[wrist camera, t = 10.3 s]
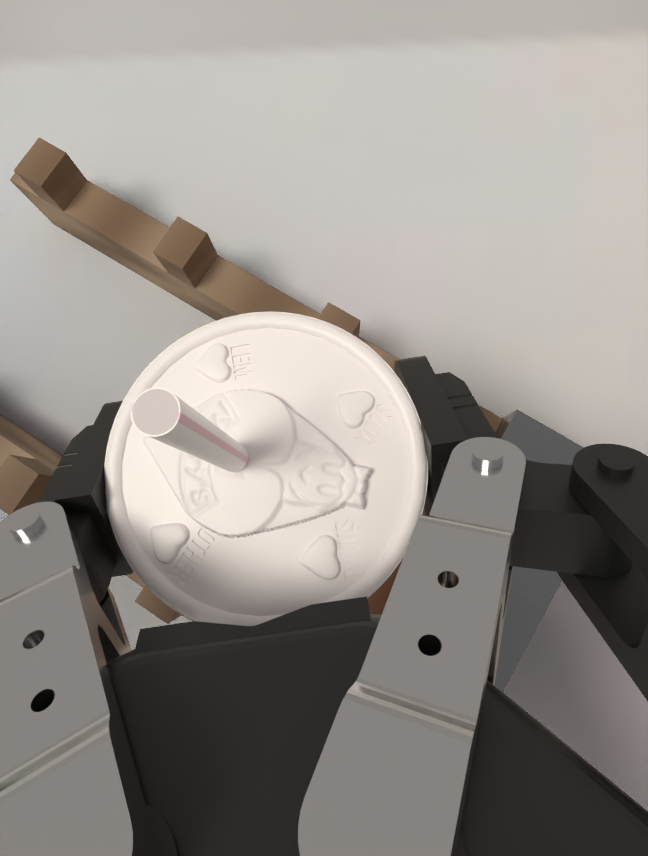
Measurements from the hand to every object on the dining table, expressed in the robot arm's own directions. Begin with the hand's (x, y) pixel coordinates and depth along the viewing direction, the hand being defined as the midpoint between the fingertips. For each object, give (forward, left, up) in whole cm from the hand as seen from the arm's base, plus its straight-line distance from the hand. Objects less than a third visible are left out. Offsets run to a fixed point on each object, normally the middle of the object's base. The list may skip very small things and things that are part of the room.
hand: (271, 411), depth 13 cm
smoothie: (+1, -1, -7) cm, 7 cm away
